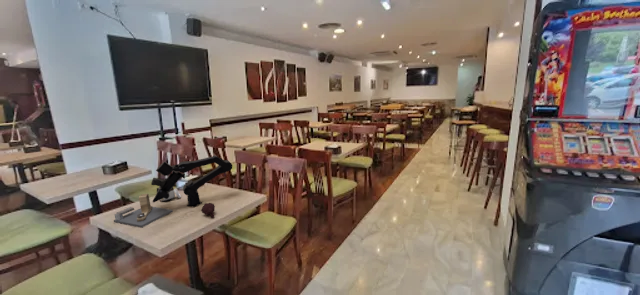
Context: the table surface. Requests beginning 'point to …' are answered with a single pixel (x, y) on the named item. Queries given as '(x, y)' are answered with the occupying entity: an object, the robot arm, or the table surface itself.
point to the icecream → (208, 209)
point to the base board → (151, 217)
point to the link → (144, 206)
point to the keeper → (120, 214)
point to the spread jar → (171, 195)
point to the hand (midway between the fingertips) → (153, 201)
